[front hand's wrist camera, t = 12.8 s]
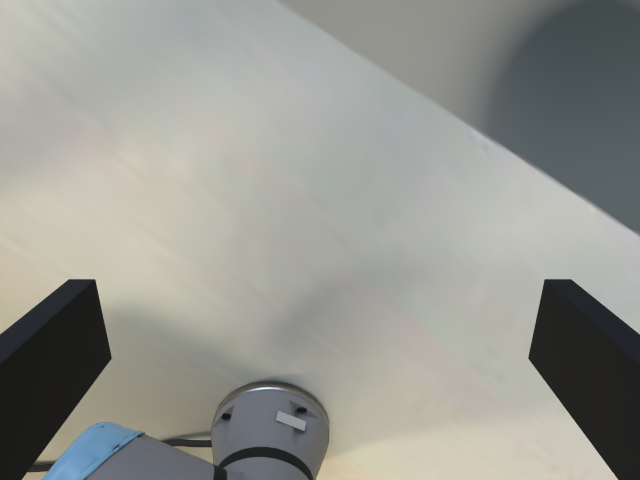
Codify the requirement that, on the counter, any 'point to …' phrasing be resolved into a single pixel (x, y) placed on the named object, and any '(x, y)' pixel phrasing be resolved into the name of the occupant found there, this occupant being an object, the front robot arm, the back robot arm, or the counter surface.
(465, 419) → the counter surface
